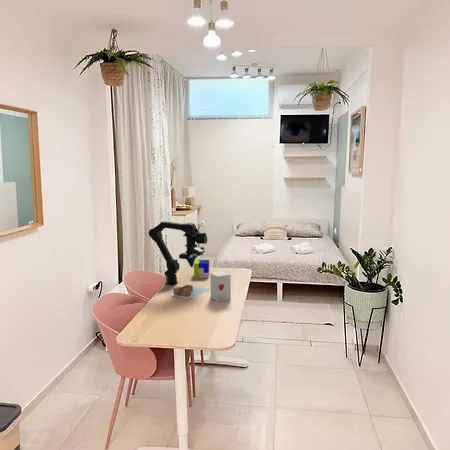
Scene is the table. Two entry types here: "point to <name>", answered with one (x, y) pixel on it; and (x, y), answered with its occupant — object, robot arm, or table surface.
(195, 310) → the table surface
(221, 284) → the supplement box
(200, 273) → the puzzle toy
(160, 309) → the table surface
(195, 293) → the mat
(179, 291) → the tee
